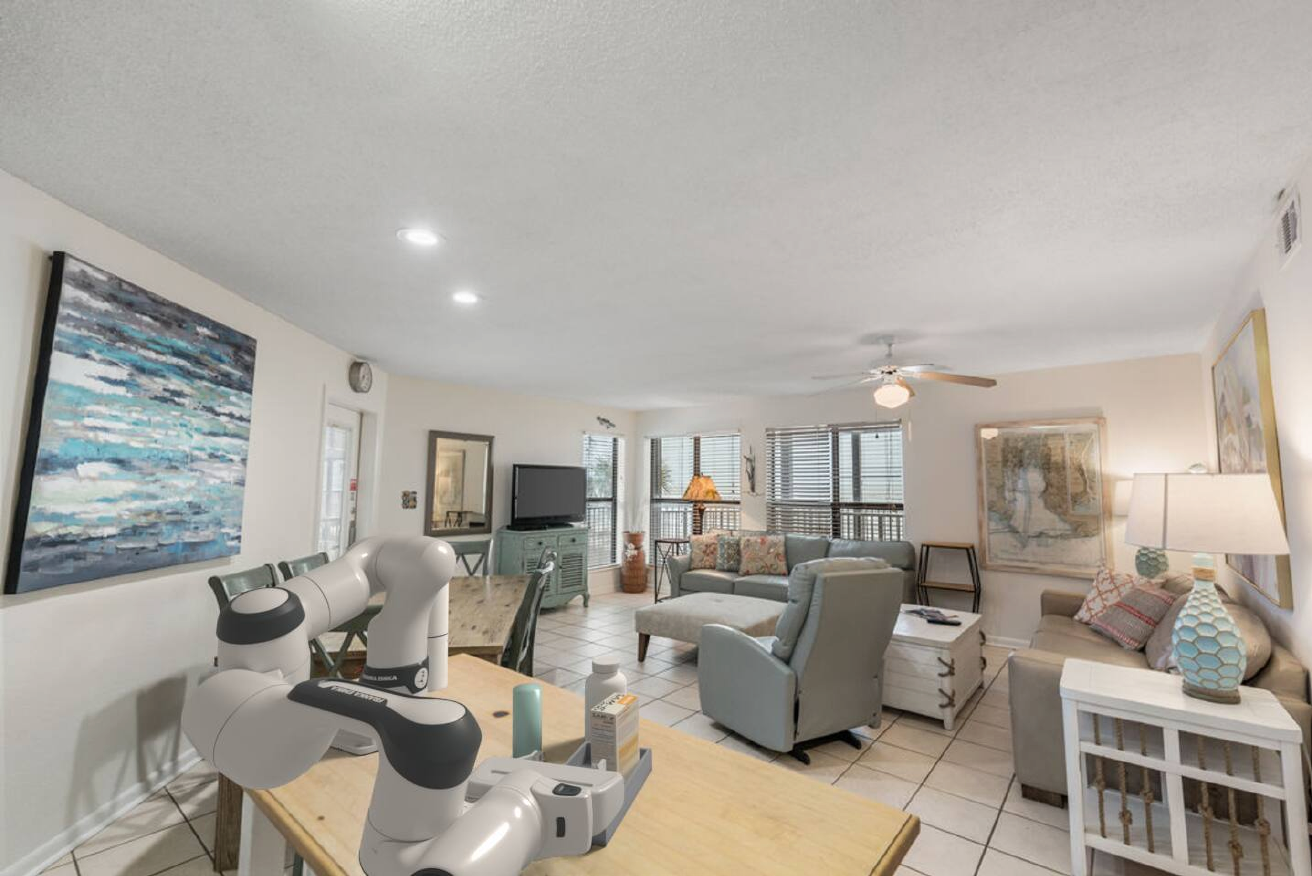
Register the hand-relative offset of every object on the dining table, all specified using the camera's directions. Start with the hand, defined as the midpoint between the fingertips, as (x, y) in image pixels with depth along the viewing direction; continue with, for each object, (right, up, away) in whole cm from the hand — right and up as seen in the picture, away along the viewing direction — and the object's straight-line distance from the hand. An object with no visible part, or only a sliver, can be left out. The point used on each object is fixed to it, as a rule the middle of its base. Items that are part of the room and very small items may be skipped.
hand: (570, 759), depth 80 cm
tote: (+3, -10, +7) cm, 13 cm away
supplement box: (+6, -10, +9) cm, 15 cm away
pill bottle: (+3, -12, +27) cm, 30 cm away
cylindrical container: (-43, -16, +59) cm, 75 cm away
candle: (-10, -11, +18) cm, 24 cm away
